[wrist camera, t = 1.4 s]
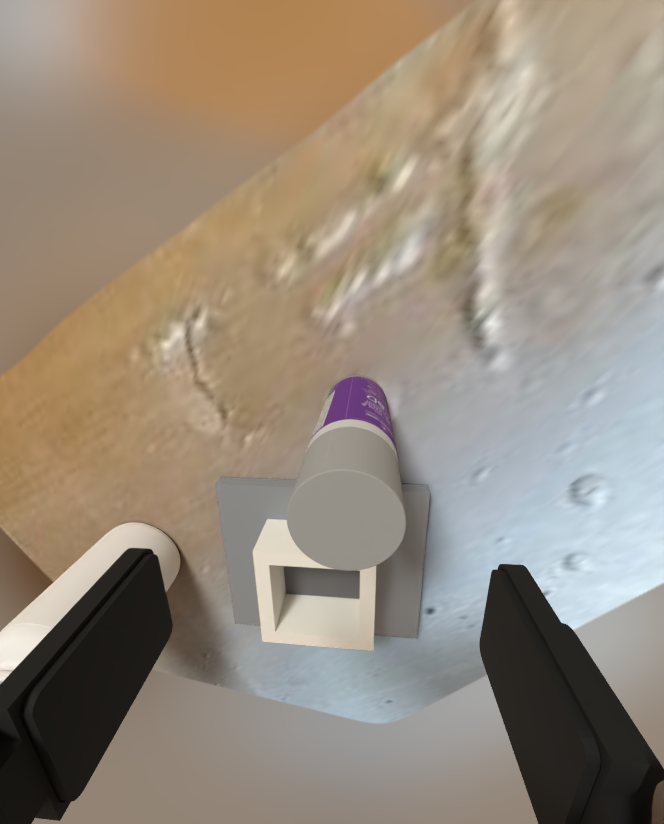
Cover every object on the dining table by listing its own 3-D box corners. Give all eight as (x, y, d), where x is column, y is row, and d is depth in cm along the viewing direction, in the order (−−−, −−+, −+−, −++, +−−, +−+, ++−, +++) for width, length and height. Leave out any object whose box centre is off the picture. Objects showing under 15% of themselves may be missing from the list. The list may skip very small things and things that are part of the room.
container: (395, 385, 26) (430, 490, 12) (375, 438, 27) (384, 588, 13) (337, 367, 26) (300, 449, 12) (320, 421, 27) (270, 552, 13)
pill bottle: (157, 596, 35) (17, 794, 21) (93, 550, 34) (-99, 727, 20) (199, 555, 33) (73, 747, 19) (132, 504, 32) (-55, 668, 18)
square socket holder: (427, 484, 28) (440, 523, 23) (415, 626, 33) (423, 683, 28) (221, 477, 30) (192, 511, 25) (239, 613, 35) (218, 664, 30)
